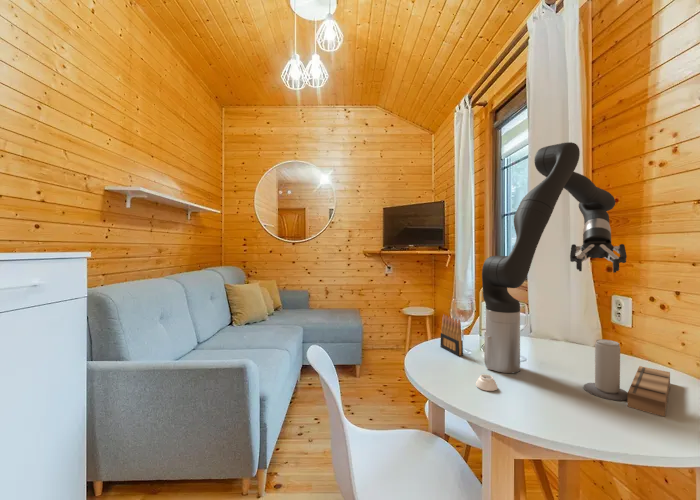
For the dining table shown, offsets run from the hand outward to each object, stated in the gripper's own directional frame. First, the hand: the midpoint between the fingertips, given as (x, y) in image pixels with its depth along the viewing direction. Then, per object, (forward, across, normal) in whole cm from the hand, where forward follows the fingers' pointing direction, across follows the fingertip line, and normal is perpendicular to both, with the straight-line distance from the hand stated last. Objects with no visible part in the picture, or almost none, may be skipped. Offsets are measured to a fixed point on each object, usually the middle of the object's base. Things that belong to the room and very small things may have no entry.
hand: (597, 270), depth 99 cm
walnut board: (+34, +10, +6) cm, 36 cm away
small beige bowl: (+49, -23, -8) cm, 54 cm away
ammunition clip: (+32, -40, +8) cm, 52 cm away
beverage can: (+38, +2, +3) cm, 38 cm away
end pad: (+38, +2, +3) cm, 38 cm away
